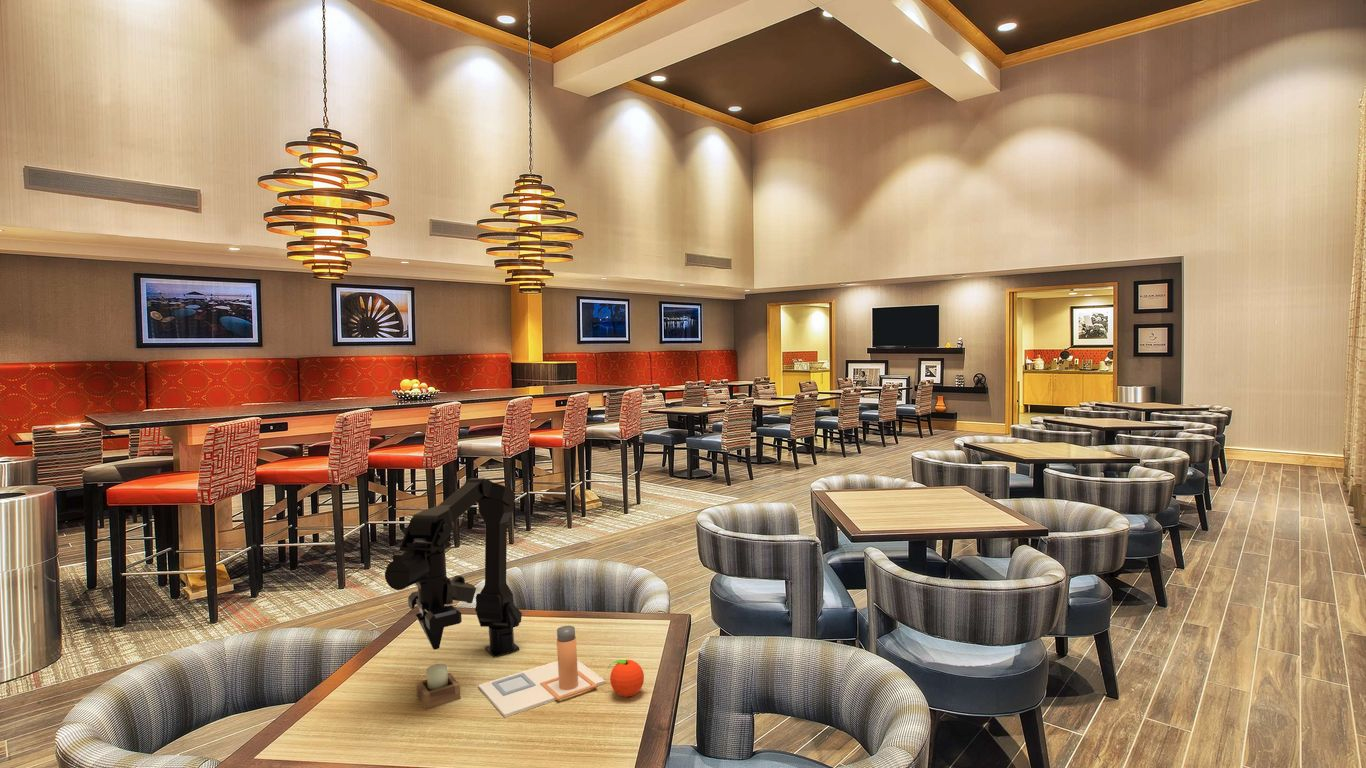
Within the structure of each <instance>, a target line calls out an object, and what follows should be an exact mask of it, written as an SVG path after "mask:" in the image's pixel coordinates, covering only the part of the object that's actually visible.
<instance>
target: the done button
mask: <svg viewBox="0 0 1366 768" xmlns="http://www.w3.org/2000/svg"><path fill="white" fill-rule="evenodd" d="M426 680H427V685H428V690H429V691H432V690H436V689H439V688H442V687H446V686H448V664H445V663H436V664H433V665H430V666H428V667H427V668H426Z"/></svg>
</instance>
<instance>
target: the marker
mask: <svg viewBox="0 0 1366 768" xmlns="http://www.w3.org/2000/svg"><path fill="white" fill-rule="evenodd" d="M556 635H557V636H556V637H557V638H556V651H557V652H556V653H557V655H556V656H557V661H558V675H559V688H560V689H562V690H571V689H574V688H576V687H577V686H578V668H577V660H578V653H577V652H578V651H577V636H576V629H575V626H573V625H564V626H560V627H558V628H557V629H556Z"/></svg>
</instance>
